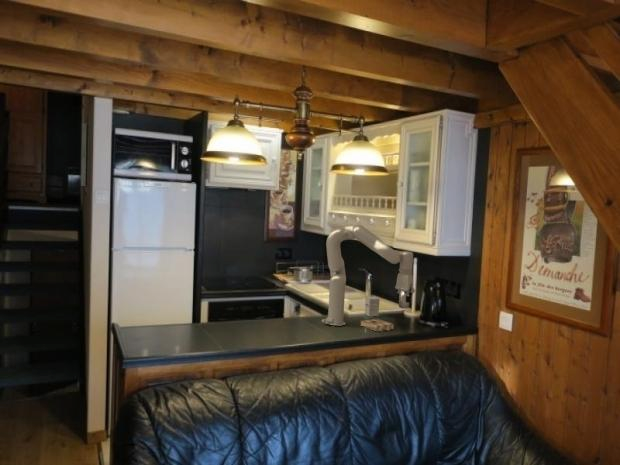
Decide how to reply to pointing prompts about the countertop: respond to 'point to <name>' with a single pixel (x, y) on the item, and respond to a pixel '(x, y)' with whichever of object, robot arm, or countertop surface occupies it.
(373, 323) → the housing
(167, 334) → the countertop surface
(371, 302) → the supplement box
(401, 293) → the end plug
